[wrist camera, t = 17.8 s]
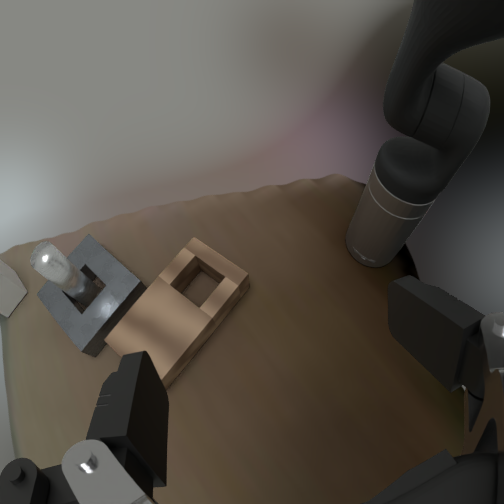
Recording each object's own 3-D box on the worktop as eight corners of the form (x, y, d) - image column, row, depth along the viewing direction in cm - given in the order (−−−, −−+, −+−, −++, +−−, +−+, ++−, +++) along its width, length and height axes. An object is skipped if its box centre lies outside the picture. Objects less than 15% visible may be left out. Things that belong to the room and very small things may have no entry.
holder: (99, 246, 51) (88, 233, 48) (150, 291, 47) (140, 280, 43) (50, 303, 46) (36, 294, 42) (95, 357, 42) (81, 351, 38)
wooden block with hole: (199, 252, 50) (193, 236, 46) (249, 286, 47) (248, 273, 43) (118, 347, 43) (104, 340, 39) (165, 390, 40) (154, 388, 36)
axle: (96, 283, 48) (45, 236, 34) (110, 297, 47) (58, 252, 33) (81, 300, 47) (26, 258, 33) (95, 315, 46) (38, 275, 31)
